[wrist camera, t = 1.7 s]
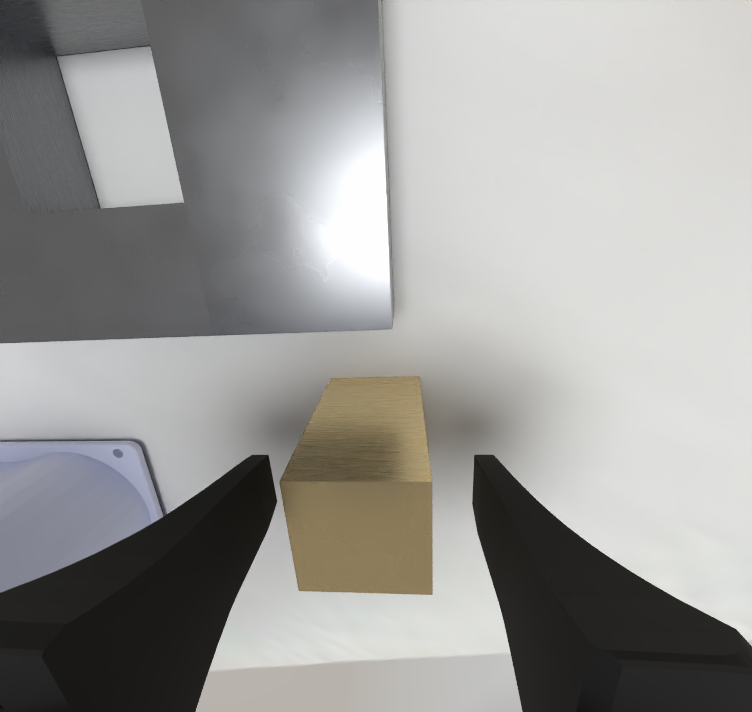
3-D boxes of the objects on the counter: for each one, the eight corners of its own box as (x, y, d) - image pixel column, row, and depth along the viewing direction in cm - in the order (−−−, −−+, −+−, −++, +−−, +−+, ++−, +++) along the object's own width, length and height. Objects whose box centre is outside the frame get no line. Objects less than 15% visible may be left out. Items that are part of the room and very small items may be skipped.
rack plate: (5, 326, 16) (-87, 347, 13) (-165, -83, 11) (-368, -198, 8) (394, 311, 14) (391, 330, 11) (375, -171, 10) (363, -349, 7)
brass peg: (338, 453, 17) (298, 590, 10) (330, 378, 16) (279, 481, 9) (420, 452, 17) (432, 594, 10) (419, 376, 15) (431, 481, 9)
